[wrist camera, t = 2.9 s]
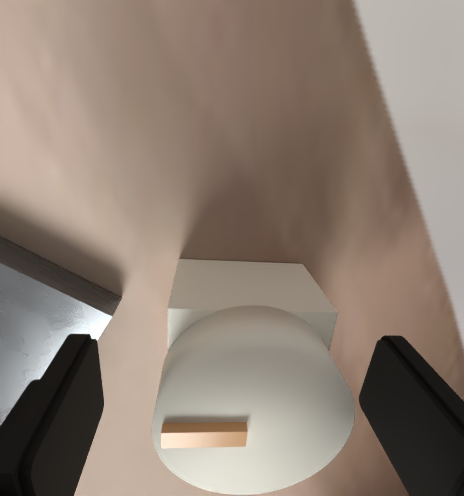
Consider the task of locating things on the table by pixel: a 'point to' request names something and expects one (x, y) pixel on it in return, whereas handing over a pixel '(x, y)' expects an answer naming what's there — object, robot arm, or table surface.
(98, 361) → the robot arm
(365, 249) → the table surface
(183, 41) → the table surface
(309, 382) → the knob
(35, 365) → the grey thin square slab
